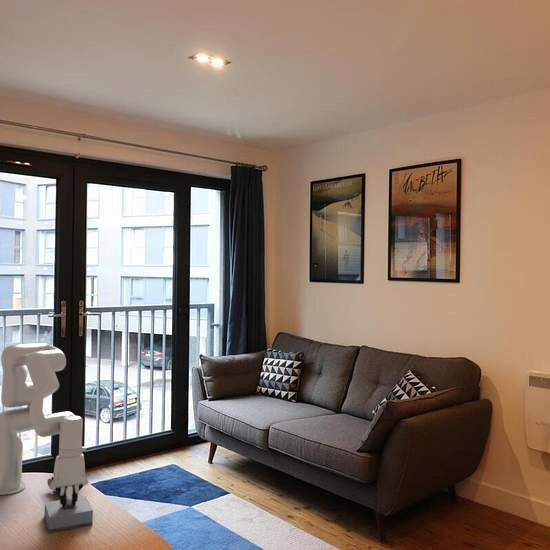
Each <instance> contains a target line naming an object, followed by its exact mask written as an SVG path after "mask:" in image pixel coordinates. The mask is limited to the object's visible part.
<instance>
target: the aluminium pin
mask: <svg viewBox="0 0 550 550" xmlns="http://www.w3.org/2000/svg"><path fill="white" fill-rule="evenodd" d="M64 493H65V506H64V509H71V508H73V493H74V485H70V486H65V492H64Z"/></svg>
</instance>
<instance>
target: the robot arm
mask: <svg viewBox="0 0 550 550" xmlns="http://www.w3.org/2000/svg"><path fill="white" fill-rule="evenodd" d="M0 362H1V367H2V371H3V372H2V374H3V375H2V384H1V394H0V395H1V398H0V400H1V405H2V406H3V407H5V408H14V409H8V410H7V409H6V410H3V411H1V412H0V496H5V495H6V496H8V495H12V494H16V493H20V492H22V491H24V490H25V488H26V483H25V482H24V481H22V477H23V476H22V472H23V452H24V451H23V449H24V448H23V447H24V446H23V445H24V444H23V441H22V440H21V439H20V437H19V436H18V434H20V433H25V432H30V431H34V432H35V434H36V435H37V436H39V437H42V438H46V437H51V436H56V435H59V439H58V440H59V441H58V442H59V444H58V446H59V447H58V455H56V457H55V461H54V466H53V467H54V468H53V477H54V478H53V481H52V482H51V484H50V486H48V488H49V489H50V490H51V491H56V492H57V493H58V495H59V500H60V504H62V506H63V507H64V506H65V493H64V489H65V486H70V485H74V493H73V505H76V501H77V500H78V497H79V496H78V494H79V492H80V491H81V490H82V489H83V487H85V486H87V485H88V484H89V480H88V478H87V477H86V468H85V467H86V466H85V465H86V464H85V456H84V454H83V452H86V451H87V447H86V446H82V445H83V426H84V425H83V423H84V421H83V418H82V417H81V416H79V415H75V414H74V413H73V412H71V411H66V410H65V411H60V412H54V413H49V414H48V413H47V414H44V411H43V410H44V409H43V408H44V400H45V399H46V398H47V397H49V396H52V395H53V394H54V393H55V392H57V391H58V390H59V388H60V381H59V380H58V377H57V374H56V372H60V371H63V370H64V369H65V368H66V365H67V358H66V355H65V353H64V352H63V351H62V350H61V349H59V347H56V346H53V345H51V344H49V343H47V342H46V343H45V342H38V343H37V342H35V343H20V344H19V343H18V344H17V343H16V344H12V345H8V346H6V347H5V348H4V349H3V350H2V351H1V356H0ZM25 366H26V368H27V370H26V368H25ZM27 371H28V374H29V377H30V379H31V380H29V381H27ZM23 406H26V407H23ZM19 407H21V408H19ZM59 487H60V488H59ZM56 492H55V493H56Z"/></svg>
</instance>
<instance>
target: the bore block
mask: <svg viewBox="0 0 550 550" xmlns="http://www.w3.org/2000/svg"><path fill="white" fill-rule="evenodd" d="M93 515H94V510H93V508H92V505H91V503H90V501H89V500H88V498H87V496H85V495H84V496H78V500H77V501H76V505H73V508H71V509H64V507H63V506H62V504H60V499H59V500H53V501H52V500H51V501H47V502H46V501H45V502H44V516H43V517H44V520H45V524H46V527H47V530H48V533H55V532H60V531H65V530H71V529H77V528H82V527H88V526H93V524H94V523H93V522H94V521H93V517H94V516H93Z"/></svg>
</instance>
